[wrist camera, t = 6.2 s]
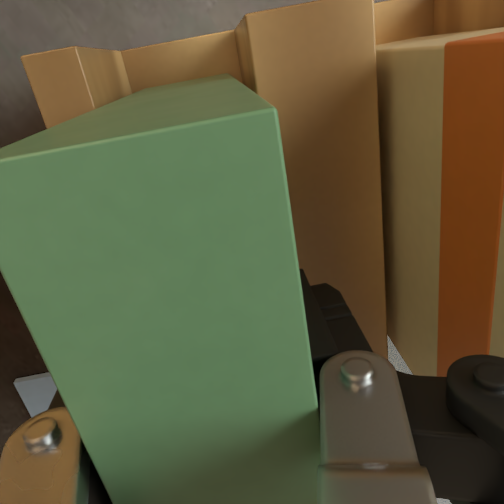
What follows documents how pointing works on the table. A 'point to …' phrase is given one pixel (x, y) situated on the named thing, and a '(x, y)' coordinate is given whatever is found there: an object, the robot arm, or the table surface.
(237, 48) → the book rack
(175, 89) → the green book
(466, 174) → the cream book
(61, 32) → the table surface
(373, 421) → the robot arm
